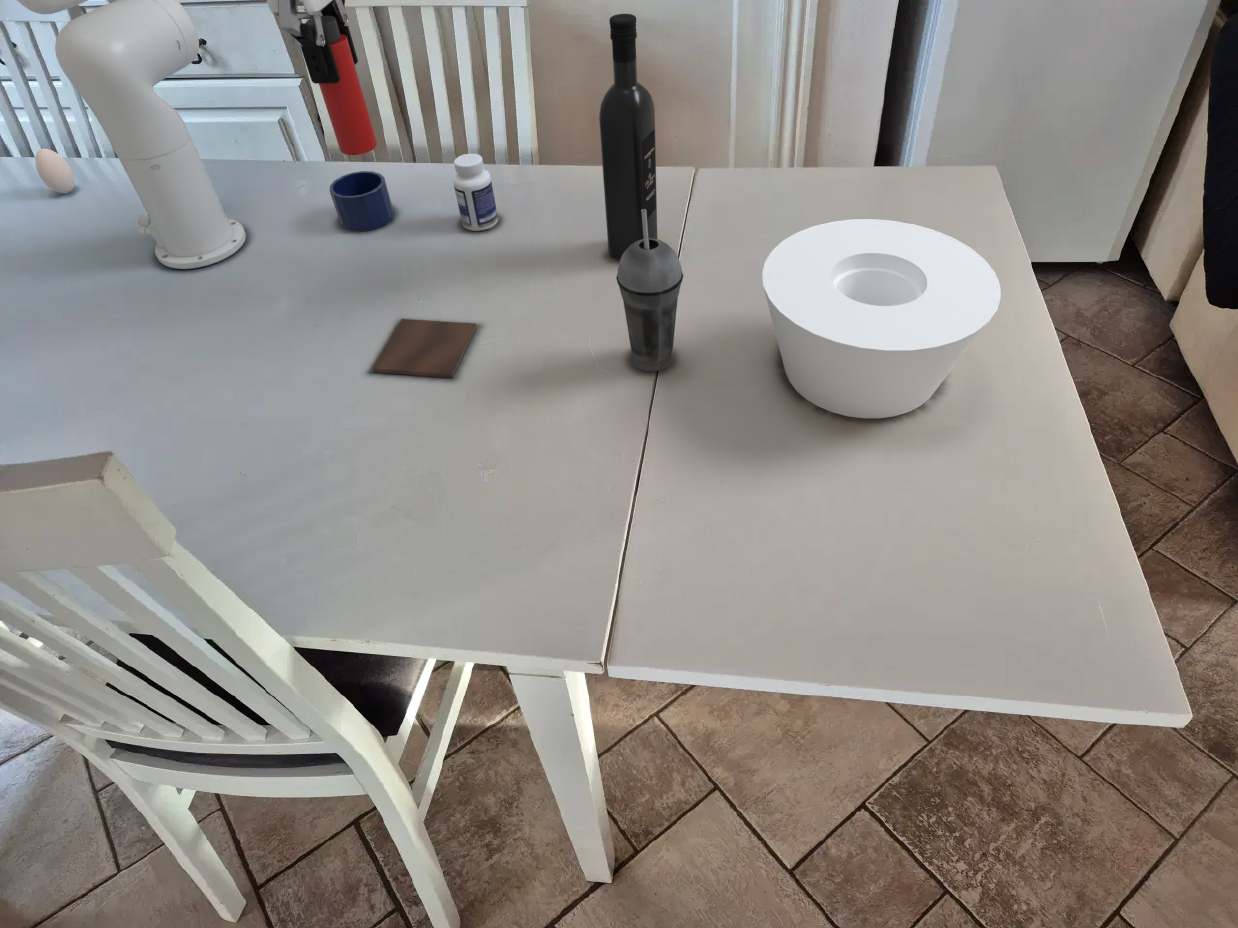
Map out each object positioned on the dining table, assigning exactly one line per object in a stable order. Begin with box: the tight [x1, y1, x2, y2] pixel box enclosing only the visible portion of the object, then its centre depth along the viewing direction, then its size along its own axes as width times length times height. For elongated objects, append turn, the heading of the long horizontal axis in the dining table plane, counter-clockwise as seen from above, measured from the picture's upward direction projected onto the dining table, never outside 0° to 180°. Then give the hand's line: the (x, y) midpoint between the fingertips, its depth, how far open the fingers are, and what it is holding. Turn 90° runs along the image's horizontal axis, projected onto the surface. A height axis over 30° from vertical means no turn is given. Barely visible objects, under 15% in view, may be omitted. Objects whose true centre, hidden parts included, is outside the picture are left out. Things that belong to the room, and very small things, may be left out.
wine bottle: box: [598, 13, 658, 261], centre depth 102 cm, size 6×6×30 cm
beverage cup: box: [615, 209, 684, 372], centre depth 89 cm, size 7×7×20 cm
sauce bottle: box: [305, 16, 378, 156], centre depth 92 cm, size 4×4×14 cm
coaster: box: [372, 318, 477, 379], centre depth 100 cm, size 10×10×1 cm
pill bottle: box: [452, 153, 499, 232], centre depth 117 cm, size 5×5×10 cm
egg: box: [34, 148, 76, 195], centre depth 132 cm, size 5×5×7 cm
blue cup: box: [329, 170, 395, 232], centre depth 121 cm, size 8×8×6 cm
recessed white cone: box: [761, 218, 1002, 419], centre depth 89 cm, size 24×24×12 cm
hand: (335, 71), depth 91 cm, fingers closed on sauce bottle, 4 cm apart
